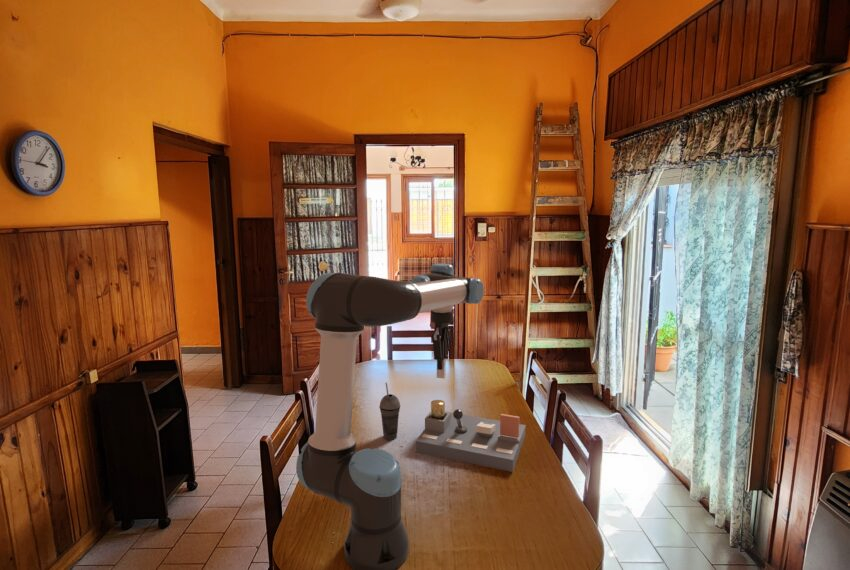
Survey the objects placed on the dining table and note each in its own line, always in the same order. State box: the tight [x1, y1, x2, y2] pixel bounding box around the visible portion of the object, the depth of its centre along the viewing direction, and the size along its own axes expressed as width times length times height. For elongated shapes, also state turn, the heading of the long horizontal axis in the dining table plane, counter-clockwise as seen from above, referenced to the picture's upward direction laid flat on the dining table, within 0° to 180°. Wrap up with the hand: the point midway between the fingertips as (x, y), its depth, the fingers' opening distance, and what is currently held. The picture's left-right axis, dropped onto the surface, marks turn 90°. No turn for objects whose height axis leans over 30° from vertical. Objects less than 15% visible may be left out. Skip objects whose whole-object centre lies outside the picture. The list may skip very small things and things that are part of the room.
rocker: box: [476, 422, 495, 434], centre depth 156 cm, size 7×5×2 cm
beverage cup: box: [378, 382, 401, 441], centre depth 161 cm, size 7×7×20 cm
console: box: [415, 411, 527, 473], centre depth 158 cm, size 24×32×8 cm
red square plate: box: [499, 413, 520, 438], centre depth 153 cm, size 1×6×7 cm, turn 69°
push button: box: [430, 399, 446, 420], centre depth 161 cm, size 5×5×6 cm
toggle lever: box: [452, 409, 464, 429], centre depth 156 cm, size 3×3×9 cm
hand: (441, 377), depth 159 cm, fingers closed
